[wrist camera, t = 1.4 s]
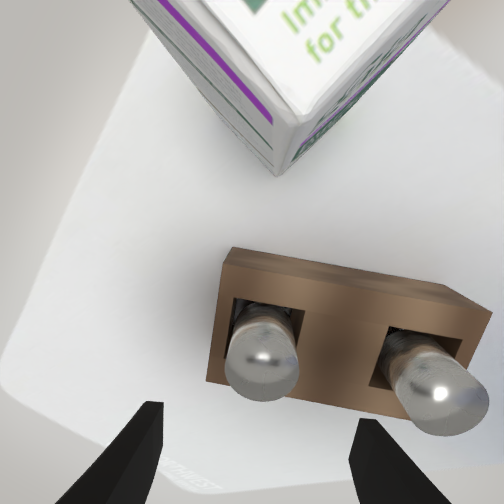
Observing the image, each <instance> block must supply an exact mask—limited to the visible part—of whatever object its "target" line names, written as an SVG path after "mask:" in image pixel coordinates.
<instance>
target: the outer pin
mask: <svg viewBox="0 0 504 504" xmlns="http://www.w3.org/2000/svg"><path fill="white" fill-rule="evenodd" d="M225 375H226V378H227V381H228V383H229V384H230V386H231V387H232V388H233V389H234V390H235V391H236V392H237V393H238V394H240V395H241V396H243V397H245V398H247V399H250V400H254V401H260V402H266V401H273V400H277V399H279V398H282V397H284V396H285V395H287V394H288V393H289V392H290V391H291V390H292V389H293V388H294V387H295V385H296V383H297V381H298V378H299V364H298V358H297V352H296V346H295V340H294V333H293V327H292V322H291V319H290V317H289V316H288V314H287V313H286V312H285V311H284V310H283V309H282V308H281V307H279V306H277V305H273V304H267V303H262V302H257V303H253V304H250V305H248V306H247V307H245V308H244V309H243V310H242V311H241V312H240V313H239V315H238V316H237V318H236V322H235V326H234V330H233V334H232V338H231V342H230V346H229V350H228V354H227V358H226V362H225Z"/></svg>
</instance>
